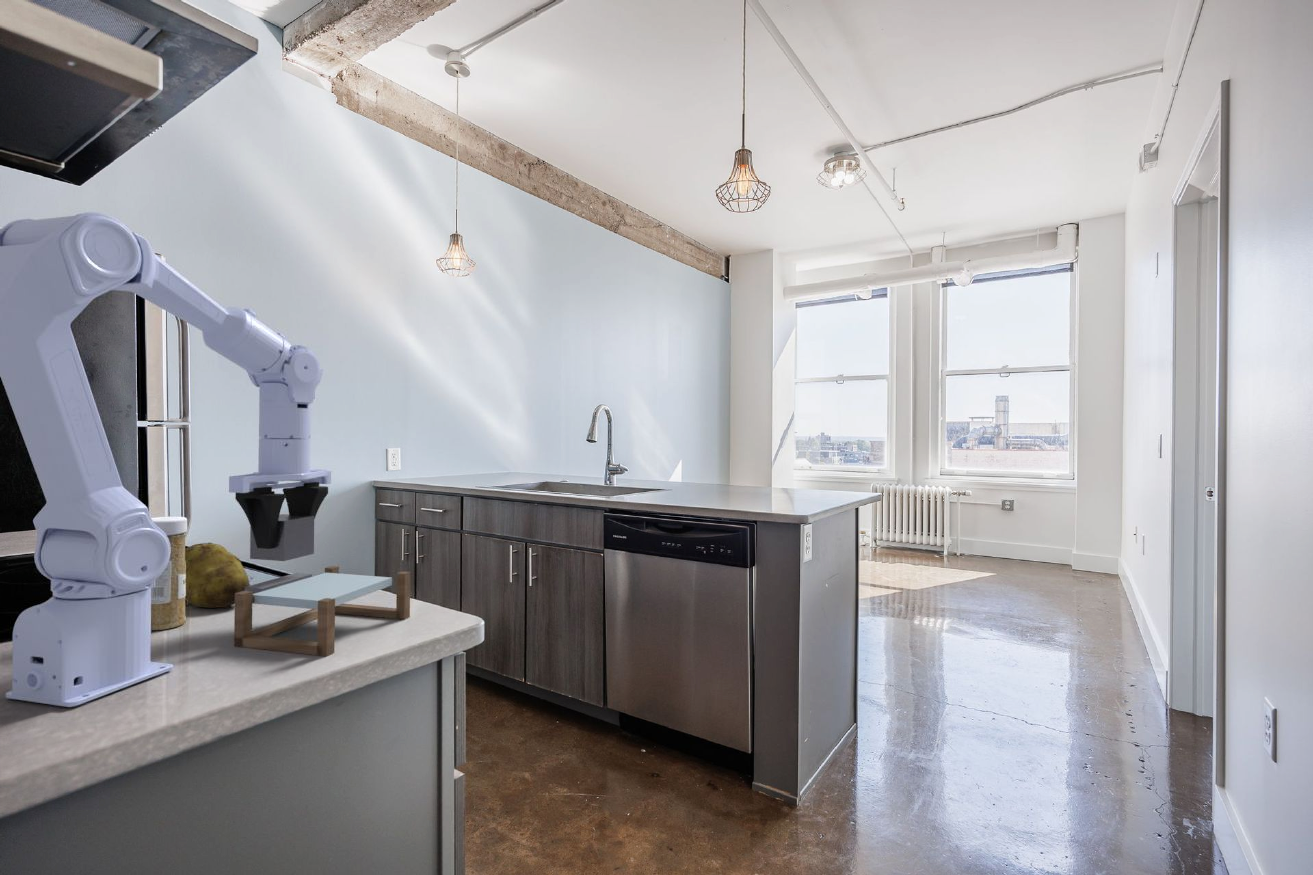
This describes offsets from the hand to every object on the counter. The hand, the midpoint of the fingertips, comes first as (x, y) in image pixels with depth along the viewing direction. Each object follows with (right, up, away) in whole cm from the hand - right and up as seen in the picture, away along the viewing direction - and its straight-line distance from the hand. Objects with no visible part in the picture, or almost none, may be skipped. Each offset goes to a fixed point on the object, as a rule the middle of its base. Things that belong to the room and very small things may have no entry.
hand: (283, 544), depth 81 cm
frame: (+8, -10, -3) cm, 13 cm away
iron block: (0, -2, 0) cm, 2 cm away
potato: (-15, -10, +8) cm, 20 cm away
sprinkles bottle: (-13, -10, -3) cm, 17 cm away
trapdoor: (+6, -6, -3) cm, 9 cm away
